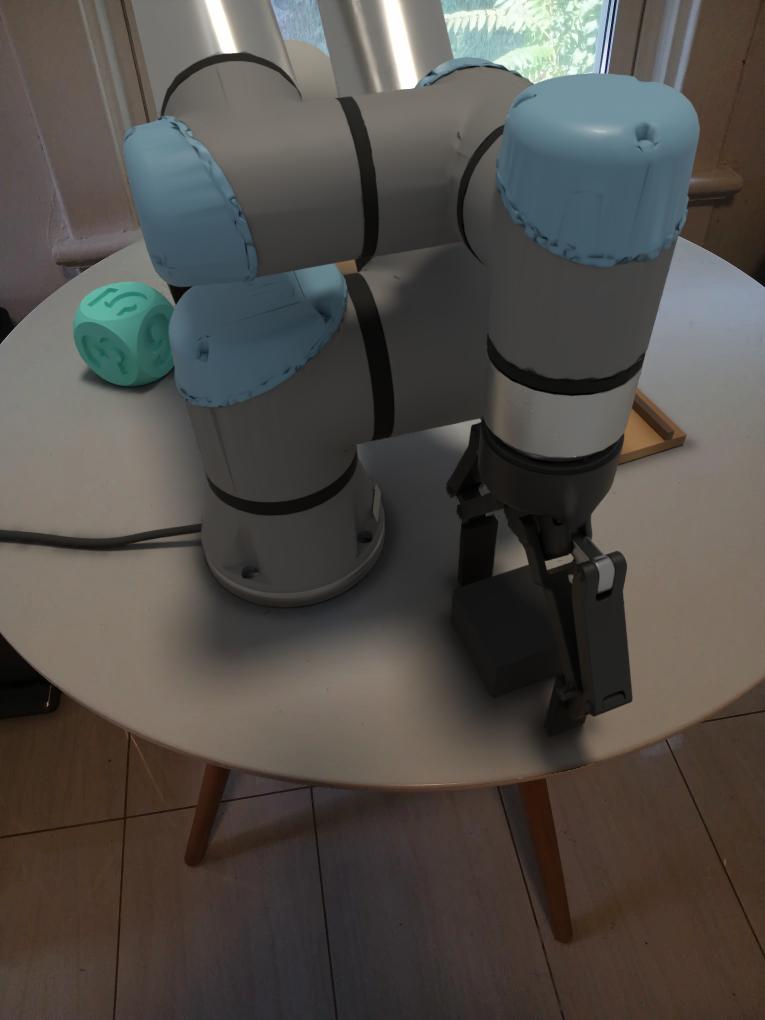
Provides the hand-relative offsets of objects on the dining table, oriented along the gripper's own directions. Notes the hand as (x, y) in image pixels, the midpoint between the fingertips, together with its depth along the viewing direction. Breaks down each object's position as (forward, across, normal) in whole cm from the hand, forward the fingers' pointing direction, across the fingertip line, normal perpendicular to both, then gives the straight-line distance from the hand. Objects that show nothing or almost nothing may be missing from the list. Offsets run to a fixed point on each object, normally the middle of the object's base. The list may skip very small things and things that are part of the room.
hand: (515, 646), depth 54 cm
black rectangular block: (0, 0, 0) cm, 0 cm away
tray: (0, +24, -18) cm, 30 cm away
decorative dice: (0, +48, +21) cm, 52 cm away
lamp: (0, +57, -12) cm, 58 cm away
